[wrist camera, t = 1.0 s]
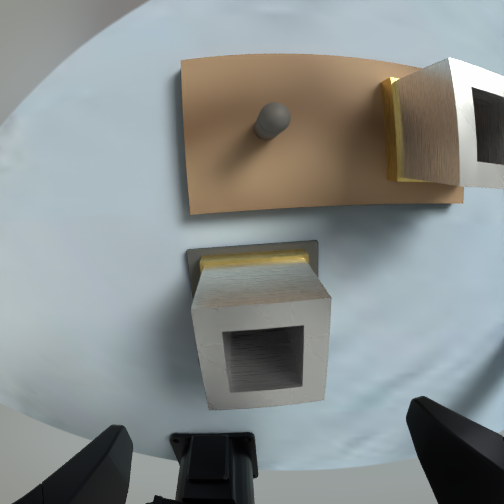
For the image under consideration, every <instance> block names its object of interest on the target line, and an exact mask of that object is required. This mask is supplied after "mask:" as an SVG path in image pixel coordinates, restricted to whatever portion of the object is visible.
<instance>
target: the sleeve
mask: <svg viewBox="0 0 504 504" xmlns="http://www.w3.org/2000/svg"><path fill="white" fill-rule="evenodd" d="M200 271H201V277H200V280H199V283H198V287H197V290H196V293H195V296H194V299H193V303H192V306H191V314H192V321H193V327H194V333H195V339H196V345H197V350H198V356H199V362H200V367H201V372H202V378H203V383H204V388H205V393H206V398H207V403H208V408H209V410H228V409H247V408H261V407H272V406H282V405H291V404H300V403H307V402H315V401H322V400H324V397H325V387H326V376H327V364H328V351H329V335H330V317H331V297H330V295H329V294H328V292H327V291H326V289H325V288H324V286H323V285H322V283H321V282H320V280H319V279H318V277H317V276H316V274H315V273H314V272H313V270H312V269H311V267H310V266H309V255H308V253H307V252H306V251H305V249H304V248H302V249H288V250H274V251H260V252H246V253H232V254H218V255H204V256H202V257H201V260H200Z"/></svg>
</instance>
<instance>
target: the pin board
mask: <svg viewBox="0 0 504 504" xmlns="http://www.w3.org/2000/svg"><path fill="white" fill-rule="evenodd" d="M421 69H422V68H417V67H412V66H407V65H402V64H396V63H390V62H383V61H377V60H369V59H361V58H352V57H342V56H329V55H313V54H245V55H228V56H216V57H205V58H196V59H188V60H181V82H182V107H183V126H184V142H185V157H186V171H187V183H188V195H189V206H190V215H195V214H207V213H219V212H233V211H247V210H262V209H278V208H296V207H316V206H340V205H369V204H419V203H463V197H464V187H461V186H454V185H448V184H442V183H436V182H398V181H391V180H387V158H386V137H385V122H384V110H383V99H382V90H381V82H382V81H384V80H386V79H388V78H390V77H392V78H399V79H400V78H403V77H405V76H407V75H409V74H411V73H414V72H416V71H418V70H421Z"/></svg>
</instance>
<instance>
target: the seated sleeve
mask: <svg viewBox="0 0 504 504" xmlns="http://www.w3.org/2000/svg"><path fill="white" fill-rule="evenodd" d="M381 90H382V99H383V110H384V122H385V137H386V158H387V180H391V181H398V182H436V183H442V184H448V185H454V186H461V187H481V188H497V189H504V77H503V76H501V75H498V74H495V73H493V72H490V71H488V70H485V69H482V68H479V67H477V66H474V65H471V64H468V63H465V62H462V61H458V60H455V59H452V58H447V59H444V60H442V61H439V62H437V63H435V64H432V65H430V66H428V67H425V68H423V69H421V70H418V71H416V72H414V73H411V74H409V75H407V76H405V77H403V78H400V79H399V78H392V77H390V78H388V79H386V80H384V81H382V82H381Z"/></svg>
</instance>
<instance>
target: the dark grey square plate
mask: <svg viewBox="0 0 504 504" xmlns="http://www.w3.org/2000/svg"><path fill="white" fill-rule="evenodd" d="M302 248H304V249H305V251H306V252H307V253H308V255H309V266H310V267H311V269H312V270H313V272H314V273H315V274H316V276H317V277H318V241H317V240H312V241H297V242H282V243H268V244H253V245H239V246H225V247H212V248H198V249H188V250H187V258H188V266H189V274H190V281H191V289H192V296H193V299H194V296H195V293H196V290H197V287H198V283H199V280H200V277H201V271H200V260H201V257H202V256H204V255H218V254H232V253H246V252H260V251H274V250H288V249H302ZM199 364H200V362H199Z"/></svg>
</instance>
